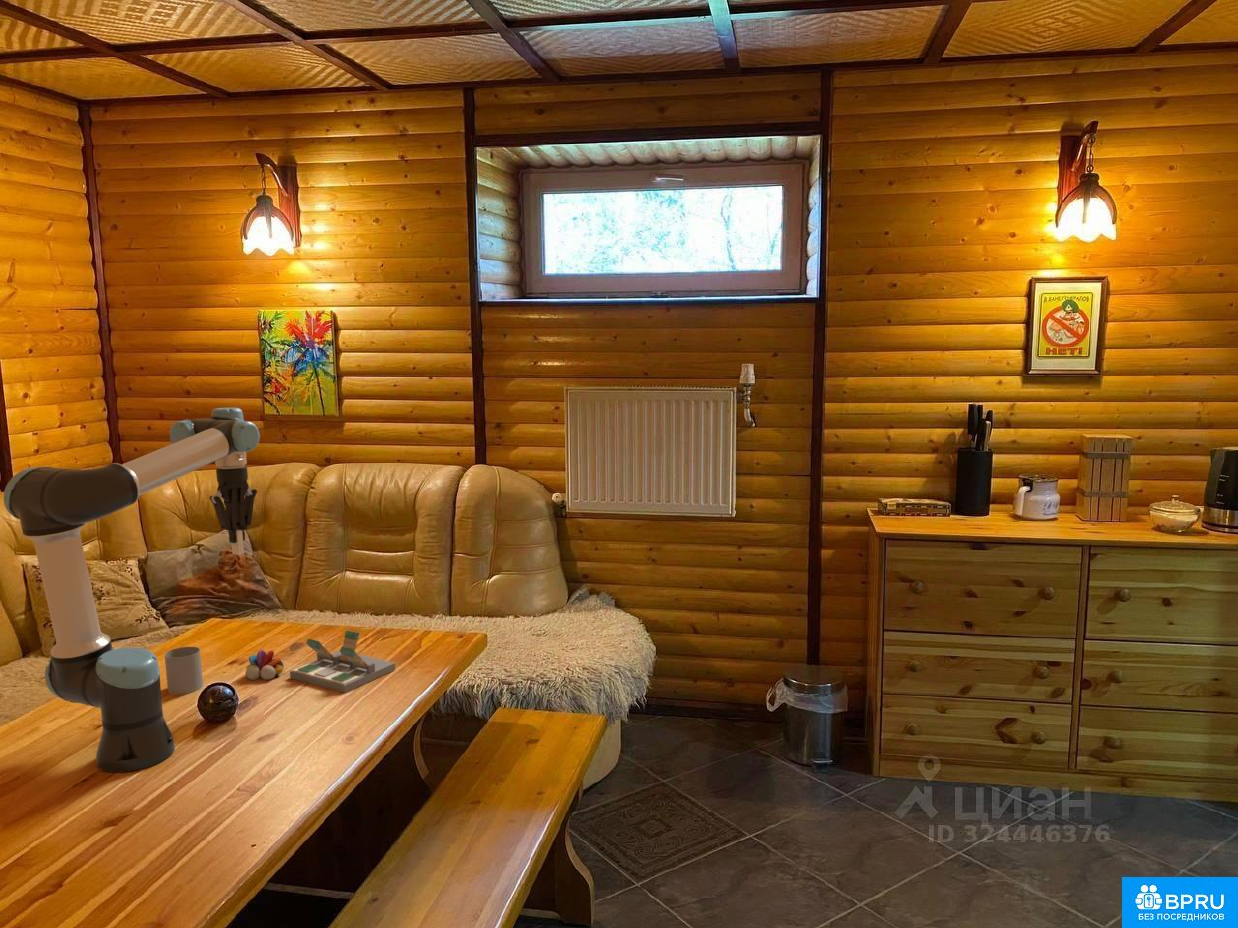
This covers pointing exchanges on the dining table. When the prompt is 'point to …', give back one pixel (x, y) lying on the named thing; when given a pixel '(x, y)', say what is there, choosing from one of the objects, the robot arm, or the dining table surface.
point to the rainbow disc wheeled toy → (264, 666)
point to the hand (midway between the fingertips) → (238, 553)
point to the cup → (183, 670)
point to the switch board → (341, 672)
